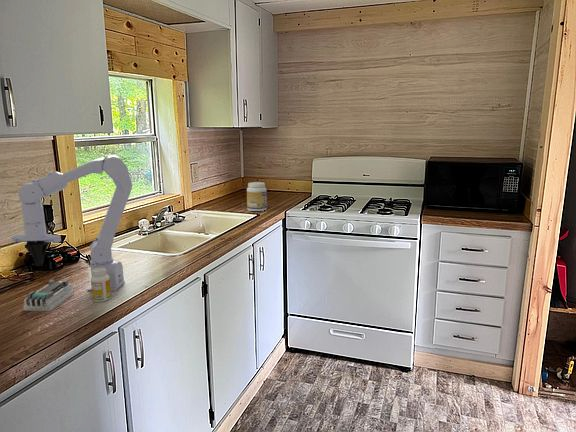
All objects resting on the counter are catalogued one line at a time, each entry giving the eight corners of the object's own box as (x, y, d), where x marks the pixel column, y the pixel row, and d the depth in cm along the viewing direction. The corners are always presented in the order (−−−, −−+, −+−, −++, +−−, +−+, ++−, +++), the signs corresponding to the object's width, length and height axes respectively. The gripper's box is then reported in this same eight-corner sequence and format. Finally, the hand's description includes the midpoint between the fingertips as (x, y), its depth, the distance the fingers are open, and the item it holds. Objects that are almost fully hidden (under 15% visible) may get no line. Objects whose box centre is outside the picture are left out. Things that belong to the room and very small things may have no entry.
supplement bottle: (107, 294, 140) (104, 265, 138) (114, 299, 136) (111, 269, 134) (90, 298, 136) (86, 269, 134) (96, 303, 132) (93, 273, 130)
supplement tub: (266, 212, 262) (266, 184, 259) (246, 212, 262) (245, 184, 258) (267, 208, 274) (266, 181, 271) (247, 208, 274) (247, 181, 270)
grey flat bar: (53, 283, 139) (53, 281, 139) (65, 283, 139) (65, 281, 139) (32, 297, 128) (31, 295, 128) (45, 298, 128) (44, 295, 128)
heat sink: (49, 293, 141) (47, 279, 139) (73, 293, 140) (72, 279, 139) (23, 310, 128) (21, 295, 127) (50, 311, 127) (48, 295, 126)
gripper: (64, 219, 137) (69, 260, 140) (19, 218, 138) (25, 259, 141) (51, 224, 131) (56, 267, 134) (4, 224, 131) (11, 267, 134)
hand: (39, 264), depth 137 cm, fingers closed
